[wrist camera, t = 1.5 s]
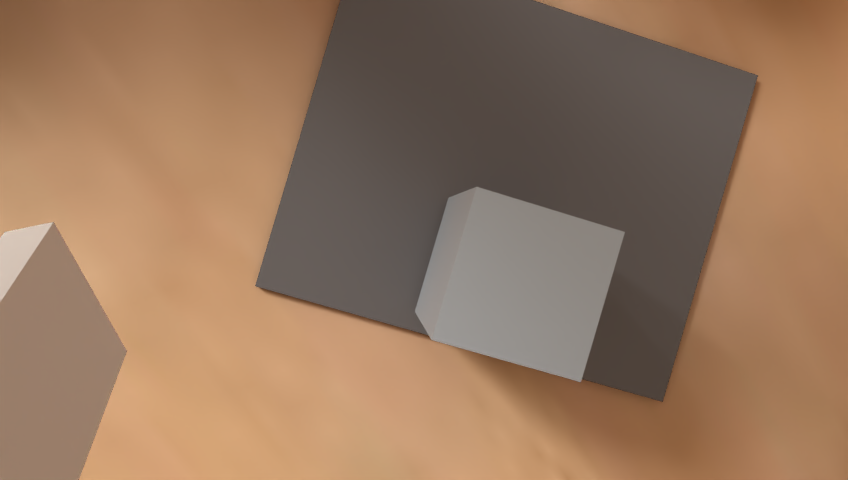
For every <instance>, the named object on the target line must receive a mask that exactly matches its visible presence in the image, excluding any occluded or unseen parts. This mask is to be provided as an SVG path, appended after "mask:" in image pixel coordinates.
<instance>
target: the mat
mask: <svg viewBox="0 0 848 480" xmlns="http://www.w3.org/2000/svg"><path fill="white" fill-rule="evenodd" d="M757 77H758V75H755V74H752V73H749V72H746V71H743V70H740V69H737V68H734V67H731V66H728V65H725V64H722V63H719V62H716V61H713V60H710V59H707V58H704V57H701V56H698V55H695V54H692V53H689V52H686V51H683V50H680V49H677V48H674V47H671V46H668V45H665V44H662V43H659V42H656V41H653V40H650V39H647V38H644V37H641V36H638V35H635V34H632V33H629V32H626V31H623V30H620V29H617V28H614V27H611V26H608V25H605V24H602V23H599V22H596V21H593V20H590V19H587V18H584V17H581V16H578V15H575V14H572V13H569V12H566V11H563V10H561V9H558V8H555V7H552V6H549V5H546V4H543V3H540V2H537V1H534V0H340V4H339V7H338V10H337V14H336V17H335V20H334V24H333V27H332V31H331V34H330V37H329V41H328V44H327V47H326V51H325V54H324V57H323V61H322V64H321V67H320V71H319V74H318V77H317V81H316V84H315V88H314V91H313V94H312V98H311V101H310V104H309V108H308V111H307V114H306V118H305V121H304V124H303V128H302V131H301V134H300V138H299V141H298V145H297V148H296V151H295V155H294V158H293V161H292V165H291V168H290V171H289V175H288V178H287V181H286V185H285V188H284V192H283V195H282V198H281V202H280V205H279V208H278V212H277V215H276V218H275V222H274V225H273V228H272V232H271V235H270V238H269V242H268V245H267V249H266V252H265V255H264V259H263V262H262V265H261V269H260V272H259V275H258V279H257V282H256V285H255V286H257V287H260V288H264V289H267V290H271V291H274V292H278V293H281V294H285V295H288V296H292V297H295V298H299V299H302V300H306V301H309V302H313V303H316V304H320V305H323V306H327V307H331V308H334V309H338V310H341V311H345V312H348V313H352V314H355V315H359V316H362V317H366V318H369V319H373V320H376V321H380V322H383V323H387V324H390V325H394V326H397V327H401V328H404V329H408V330H412V331H415V332H419V333H422V334H426V335H428V333H427V332H426V330H425V328H424V326H423V325H422V323H421V321H420V320H419V318H418V316H417V315H416V313H415V309H416V306H417V302H418V299H419V295H420V292H421V289H422V285H423V282H424V279H425V275H426V272H427V268H428V265H429V262H430V258H431V255H432V251H433V248H434V245H435V241H436V238H437V235H438V231H439V228H440V224H441V221H442V218H443V214H444V211H445V207H446V204H447V201H448V198H449V197H452V196H454V195H457V194H459V193H462V192H464V191H467V190H469V189H472V188H475V187H479V188H483V189H486V190H489V191H492V192H496V193H499V194H502V195H505V196H509V197H512V198H515V199H519V200H522V201H525V202H528V203H532V204H535V205H538V206H541V207H545V208H548V209H551V210H554V211H558V212H561V213H564V214H568V215H571V216H574V217H577V218H581V219H584V220H587V221H590V222H594V223H597V224H600V225H603V226H607V227H610V228H613V229H617V230H620V231H623V232H625V233H624V237H623V240H622V244H621V247H620V251H619V254H618V257H617V261H616V264H615V268H614V271H613V274H612V278H611V281H610V285H609V288H608V292H607V295H606V298H605V302H604V305H603V309H602V312H601V315H600V319H599V322H598V326H597V329H596V333H595V336H594V339H593V343H592V346H591V350H590V353H589V356H588V360H587V363H586V367H585V370H584V373H583V377H582V379H584V380H588V381H591V382H595V383H598V384H602V385H605V386H609V387H612V388H616V389H619V390H623V391H626V392H630V393H633V394H637V395H640V396H644V397H647V398H651V399H655V400H658V401H662V402H663V399H664V396H665V392H666V389H667V385H668V382H669V379H670V375H671V372H672V368H673V365H674V361H675V358H676V354H677V351H678V348H679V344H680V341H681V337H682V334H683V330H684V327H685V324H686V320H687V317H688V313H689V310H690V306H691V303H692V300H693V296H694V293H695V289H696V286H697V282H698V279H699V276H700V272H701V269H702V265H703V262H704V258H705V255H706V252H707V248H708V245H709V241H710V238H711V234H712V231H713V228H714V224H715V221H716V217H717V214H718V210H719V207H720V204H721V200H722V197H723V193H724V190H725V186H726V183H727V180H728V176H729V173H730V169H731V166H732V162H733V159H734V156H735V152H736V149H737V145H738V142H739V138H740V135H741V132H742V128H743V125H744V121H745V118H746V114H747V111H748V108H749V104H750V101H751V97H752V94H753V90H754V87H755V83H756V80H757Z"/></svg>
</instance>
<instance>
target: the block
mask: <svg viewBox="0 0 848 480" xmlns="http://www.w3.org/2000/svg"><path fill="white" fill-rule="evenodd" d="M624 233H625V232H623V231H620V230H617V229H613V228H610V227H607V226H603V225H600V224H597V223H594V222H590V221H587V220H584V219H581V218H577V217H574V216H571V215H568V214H564V213H561V212H558V211H554V210H551V209H548V208H545V207H541V206H538V205H535V204H532V203H528V202H525V201H522V200H519V199H515V198H512V197H509V196H505V195H502V194H499V193H496V192H492V191H489V190H486V189H483V188H479V187H475V188H472V189H469V190H467V191H464V192H462V193H459V194H457V195H454V196H452V197H449V198H448V201H447V204H446V207H445V211H444V214H443V218H442V221H441V224H440V228H439V231H438V235H437V238H436V241H435V245H434V248H433V251H432V255H431V258H430V262H429V265H428V268H427V272H426V275H425V279H424V282H423V285H422V289H421V292H420V295H419V299H418V302H417V306H416V309H415V313H416V315H417V316H418V318H419V320H420V321H421V323H422V325H423V326H424V328H425V330H426V332H427V333H428V335H429V337H430V338H431V340H434V341H437V342H441V343H444V344H448V345H451V346H455V347H458V348H462V349H465V350H469V351H472V352H476V353H479V354H483V355H486V356H490V357H493V358H497V359H501V360H504V361H508V362H511V363H515V364H518V365H522V366H525V367H529V368H532V369H536V370H539V371H543V372H546V373H550V374H553V375H557V376H561V377H564V378H568V379H571V380H575V381H578V382H581V380H582V377H583V373H584V370H585V367H586V363H587V360H588V356H589V353H590V350H591V346H592V343H593V339H594V336H595V333H596V329H597V326H598V322H599V319H600V315H601V312H602V309H603V305H604V302H605V298H606V295H607V292H608V288H609V285H610V281H611V278H612V274H613V271H614V268H615V264H616V261H617V257H618V254H619V251H620V247H621V244H622V240H623V237H624Z"/></svg>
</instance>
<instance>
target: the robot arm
mask: <svg viewBox="0 0 848 480" xmlns="http://www.w3.org/2000/svg"><path fill="white" fill-rule="evenodd" d="M126 352H127V350H126V349H125V347H124V345H123V343H122V342H121V340H120V338H119V336H118V335H117V333H116V331H115V329H114V328H113V326H112V324H111V322H110V321H109V319H108V317H107V315H106V313H105V312H104V310H103V308H102V306H101V305H100V303H99V301H98V299H97V298H96V296H95V294H94V292H93V291H92V289H91V287H90V285H89V283H88V282H87V280H86V278H85V276H84V275H83V273H82V271H81V269H80V268H79V266H78V264H77V262H76V261H75V259H74V257H73V255H72V253H71V252H70V250H69V248H68V246H67V245H66V243H65V241H64V239H63V238H62V236H61V234H60V232H59V231H58V229H57V227H56V225H55V223H54V222H51V223H46V224H41V225H36V226H31V227H27V228H22V229H17V230H12V231H7V232H4V234H3V235H2V236H1V238H0V480H79V478H80V475H81V472H82V470H83V467H84V464H85V462H86V459H87V456H88V454H89V451H90V448H91V446H92V443H93V440H94V438H95V435H96V432H97V430H98V427H99V424H100V422H101V419H102V416H103V414H104V411H105V408H106V406H107V403H108V400H109V398H110V395H111V392H112V390H113V387H114V384H115V382H116V379H117V376H118V374H119V371H120V368H121V366H122V363H123V360H124V357H125V355H126Z"/></svg>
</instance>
